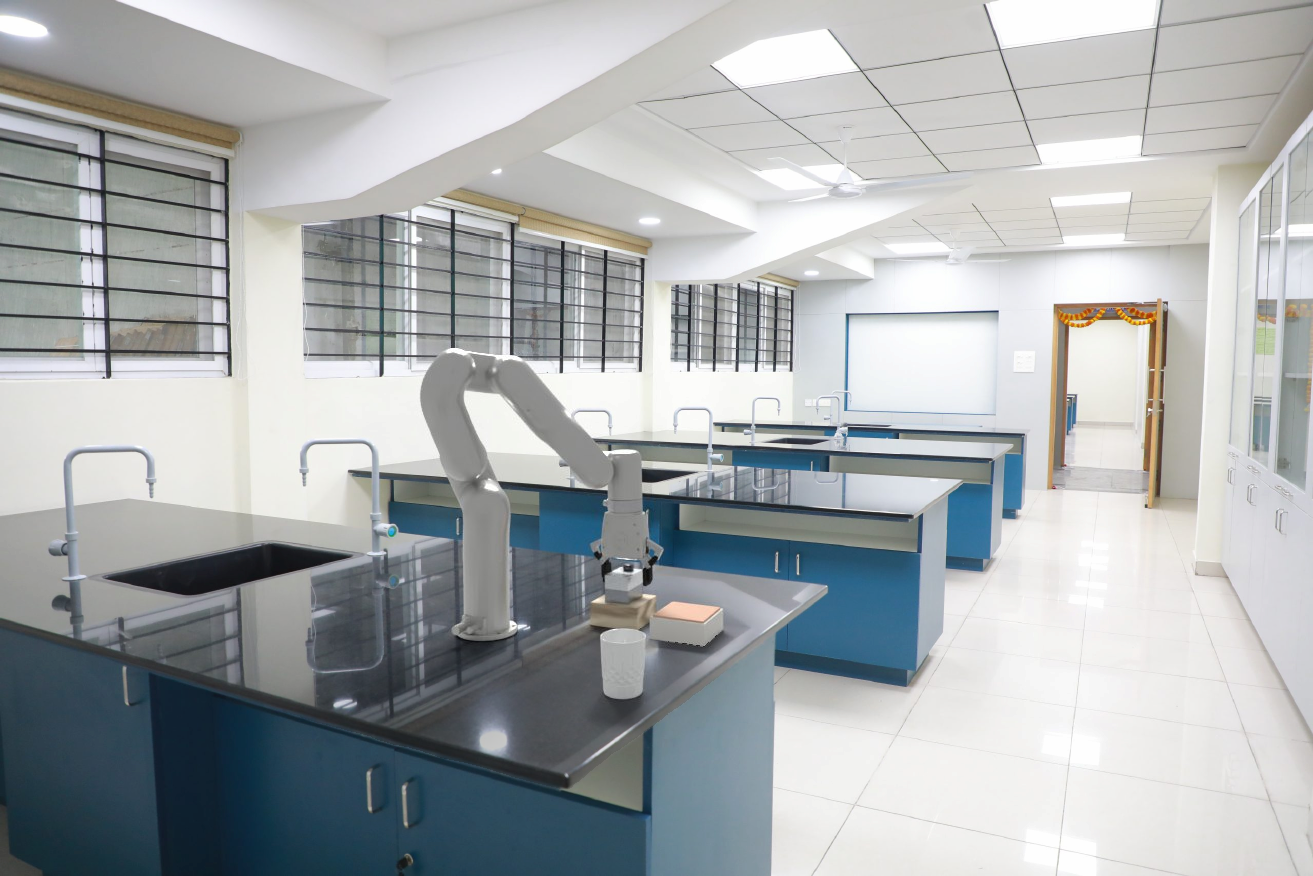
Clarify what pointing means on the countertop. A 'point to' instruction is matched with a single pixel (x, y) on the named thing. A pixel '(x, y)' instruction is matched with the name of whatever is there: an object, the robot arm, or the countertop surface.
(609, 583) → the housing
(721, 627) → the stand
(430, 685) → the countertop surface
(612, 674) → the white cup
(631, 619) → the stand
